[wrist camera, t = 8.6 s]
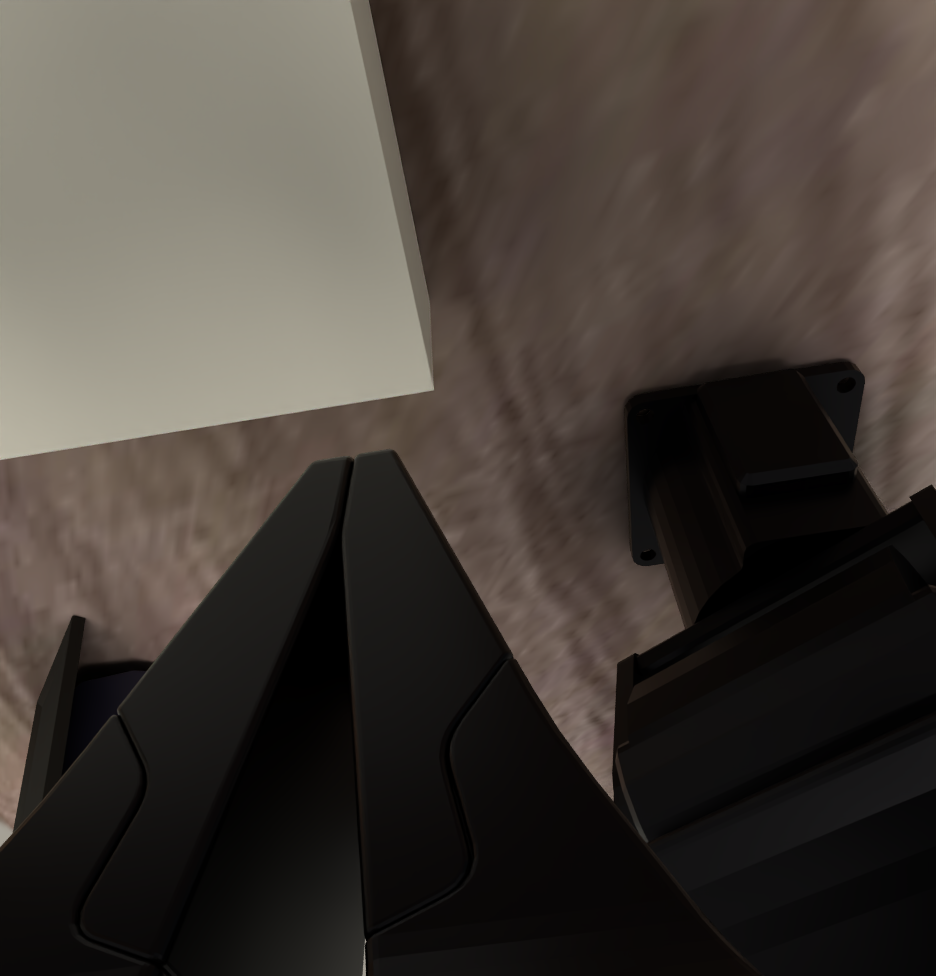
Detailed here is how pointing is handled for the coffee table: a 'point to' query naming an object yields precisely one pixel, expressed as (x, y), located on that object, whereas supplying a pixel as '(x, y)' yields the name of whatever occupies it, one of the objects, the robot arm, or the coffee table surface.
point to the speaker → (67, 719)
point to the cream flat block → (198, 219)
